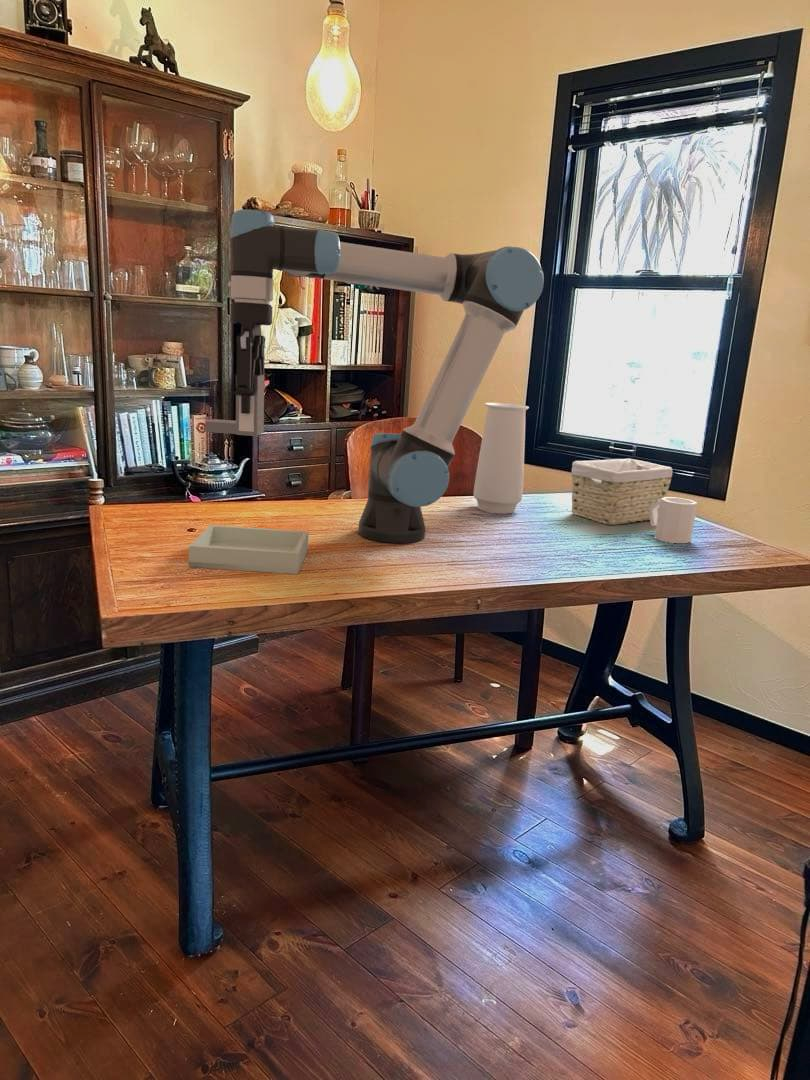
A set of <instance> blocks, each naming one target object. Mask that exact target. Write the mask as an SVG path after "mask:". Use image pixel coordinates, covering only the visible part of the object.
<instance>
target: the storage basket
mask: <svg viewBox="0 0 810 1080" xmlns="http://www.w3.org/2000/svg"><path fill="white" fill-rule="evenodd" d="M571 466H572V467H571V479H572V480H571V483H572V485H571V493H572V494H571V500H572V501H571V513H572V514H573V515H574V514H576V515H575V516H577V515H579V516H578V517H580V516H582V517H581V518H583V517H585V518H584V519H587V518H588V519H587V520H589V519H592V520H591V521H593V520H594V521H593V522H595V521H598V522H597V523H600V524H602V523H603V524H604V525H609V526H617V524H618V525H624V524H631V523H636V521H640V522H645V521H650V510H649V508H650V507H651V506H652V505H653V504H654V503H655V502H657V501H658V500H660V499H661V498H664V497H668V493H669V492H668V491H669V488H670V485H671V481H672V477H673V468H672V467H671V466H667V465H661V464H657V463H652V462H650V461H644V460H639V459H633V458H613V459H612V458H610V459H603V460H602V459H601V460H600V459H597V460H575V461H572V463H571ZM657 512H659V508H658V509H657ZM644 520H645V521H644ZM630 522H631V523H630ZM603 524H602V525H603Z"/></svg>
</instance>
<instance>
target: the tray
mask: <svg viewBox="0 0 810 1080" xmlns="http://www.w3.org/2000/svg"><path fill="white" fill-rule="evenodd" d="M308 551H309V531H307V530H294V529H291V530H290V529H276V528H262V527H260V528H259V527H248V526H247V527H245V526H235V525H220V524H219V525H218V524H209V525H208V526H207V527H206V528H205V529H204V530H203V531H202V532H201V533H200V534H199V535H198V536H197V537H196V538H195V539H194V540H193V541H192V542H191V543H190V544H189V546H188V567H189V568H198V569H199V568H201V569H202V568H203V569H215V570H230V571H242V572H243V571H245V572H259V573H260V572H261V573H274V574H275V573H277V574H292V575H293V574H294V575H298V574H299V572H300V569H301V567H302V565H303V563H304V561H305V558H306V556H307V553H308Z"/></svg>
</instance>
